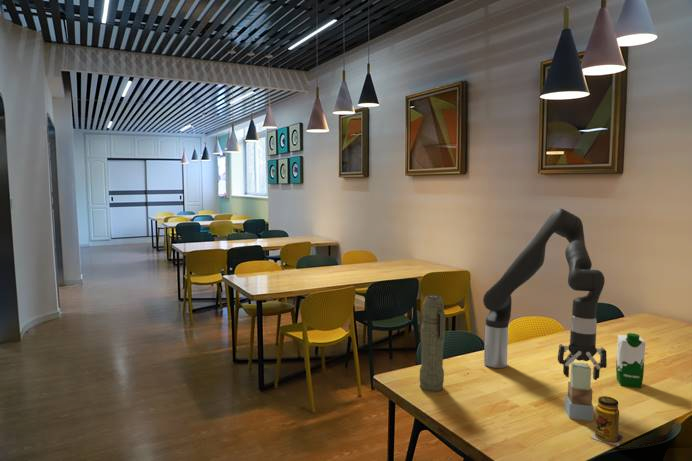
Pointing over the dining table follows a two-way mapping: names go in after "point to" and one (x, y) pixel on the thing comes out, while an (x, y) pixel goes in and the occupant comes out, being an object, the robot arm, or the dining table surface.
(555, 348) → the dining table surface
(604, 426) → the condiment
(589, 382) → the green block
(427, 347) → the thermos
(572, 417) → the tower base
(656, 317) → the dining table surface
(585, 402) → the tower top
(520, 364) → the dining table surface
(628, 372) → the milk carton
